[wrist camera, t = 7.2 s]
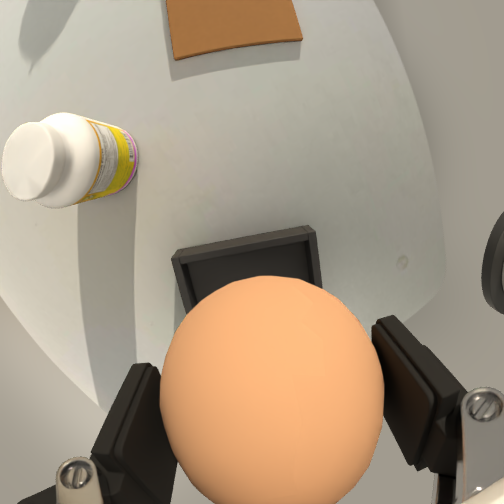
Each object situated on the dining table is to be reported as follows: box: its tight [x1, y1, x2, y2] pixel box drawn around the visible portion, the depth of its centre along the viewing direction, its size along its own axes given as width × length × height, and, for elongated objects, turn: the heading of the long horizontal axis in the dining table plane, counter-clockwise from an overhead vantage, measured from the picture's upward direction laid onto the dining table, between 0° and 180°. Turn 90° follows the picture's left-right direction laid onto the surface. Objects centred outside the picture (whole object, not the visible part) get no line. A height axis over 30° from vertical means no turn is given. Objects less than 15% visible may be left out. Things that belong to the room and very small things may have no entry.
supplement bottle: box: [1, 113, 138, 208], centre depth 19 cm, size 7×7×13 cm
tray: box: [171, 225, 322, 314], centre depth 28 cm, size 12×12×3 cm
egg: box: [160, 276, 384, 504], centre depth 8 cm, size 7×7×9 cm
